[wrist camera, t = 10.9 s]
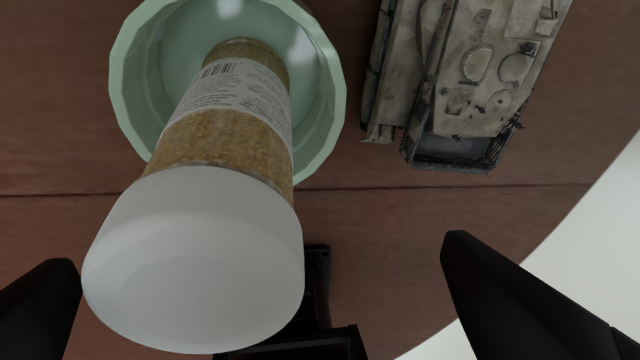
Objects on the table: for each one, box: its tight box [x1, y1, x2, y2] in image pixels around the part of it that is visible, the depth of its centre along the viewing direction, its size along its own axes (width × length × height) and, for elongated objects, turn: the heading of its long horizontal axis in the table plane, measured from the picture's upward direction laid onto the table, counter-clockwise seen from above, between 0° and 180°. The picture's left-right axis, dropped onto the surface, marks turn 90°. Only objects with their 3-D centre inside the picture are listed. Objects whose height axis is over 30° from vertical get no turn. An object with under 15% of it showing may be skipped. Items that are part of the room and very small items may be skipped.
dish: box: [108, 0, 347, 186], centre depth 16 cm, size 9×9×5 cm
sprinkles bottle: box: [81, 37, 305, 354], centre depth 13 cm, size 5×5×13 cm
